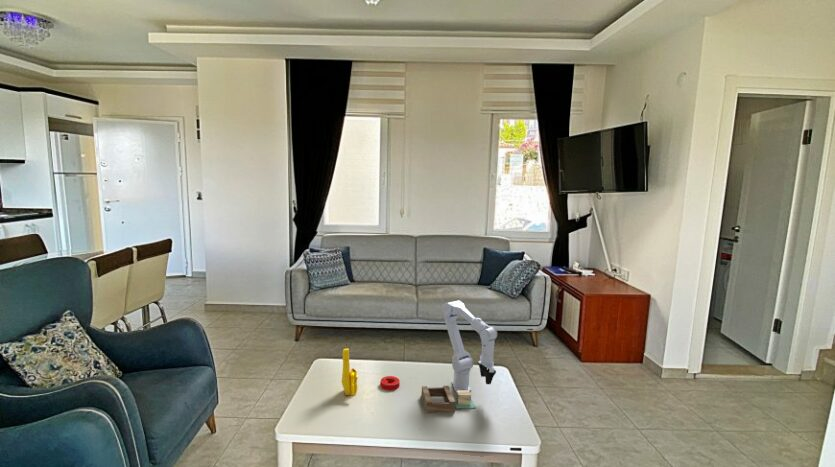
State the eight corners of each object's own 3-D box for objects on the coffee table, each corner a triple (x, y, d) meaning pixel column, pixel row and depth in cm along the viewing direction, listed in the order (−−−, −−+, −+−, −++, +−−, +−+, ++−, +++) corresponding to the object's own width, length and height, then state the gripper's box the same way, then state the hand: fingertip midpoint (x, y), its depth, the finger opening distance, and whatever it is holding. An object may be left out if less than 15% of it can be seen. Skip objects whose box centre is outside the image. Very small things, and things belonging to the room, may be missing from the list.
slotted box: (421, 396, 202) (421, 386, 202) (447, 395, 204) (448, 385, 204) (426, 413, 188) (427, 402, 187) (454, 412, 190) (455, 401, 189)
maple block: (456, 400, 199) (456, 390, 198) (468, 400, 199) (469, 390, 199) (458, 405, 195) (458, 394, 194) (470, 404, 196) (471, 394, 195)
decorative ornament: (403, 386, 212) (403, 380, 211) (389, 392, 204) (390, 386, 204) (389, 379, 218) (390, 373, 218) (376, 385, 211) (376, 379, 210)
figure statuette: (357, 402, 194) (358, 356, 192) (340, 402, 193) (341, 357, 190) (358, 383, 212) (359, 341, 209) (342, 383, 211) (343, 342, 208)
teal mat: (452, 398, 201) (452, 397, 201) (470, 398, 202) (470, 397, 202) (456, 408, 192) (456, 408, 192) (475, 408, 193) (475, 407, 193)
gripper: (474, 347, 204) (473, 373, 206) (484, 359, 190) (482, 387, 191) (488, 346, 205) (486, 373, 207) (499, 359, 191) (497, 387, 193)
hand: (485, 380), depth 199 cm, fingers open, 7 cm apart
